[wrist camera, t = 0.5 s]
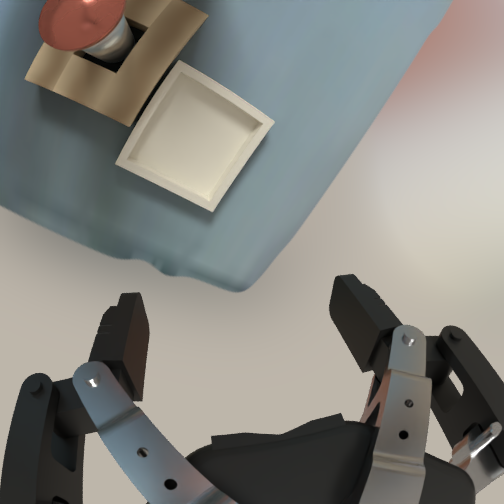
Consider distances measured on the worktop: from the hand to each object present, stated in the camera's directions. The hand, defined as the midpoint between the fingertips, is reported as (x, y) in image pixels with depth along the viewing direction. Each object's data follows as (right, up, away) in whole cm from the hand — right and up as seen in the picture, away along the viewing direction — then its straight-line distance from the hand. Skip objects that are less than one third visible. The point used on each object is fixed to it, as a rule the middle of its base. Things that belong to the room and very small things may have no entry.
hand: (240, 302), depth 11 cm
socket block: (-14, +24, +10) cm, 30 cm away
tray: (-6, +15, +19) cm, 26 cm away
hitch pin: (-14, +24, +10) cm, 30 cm away
